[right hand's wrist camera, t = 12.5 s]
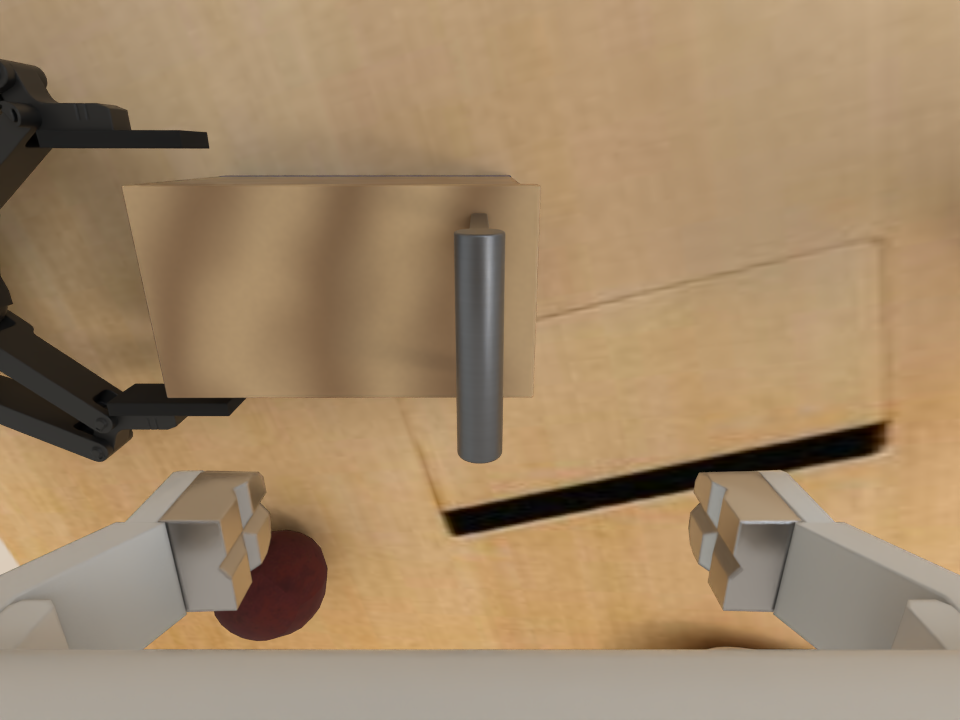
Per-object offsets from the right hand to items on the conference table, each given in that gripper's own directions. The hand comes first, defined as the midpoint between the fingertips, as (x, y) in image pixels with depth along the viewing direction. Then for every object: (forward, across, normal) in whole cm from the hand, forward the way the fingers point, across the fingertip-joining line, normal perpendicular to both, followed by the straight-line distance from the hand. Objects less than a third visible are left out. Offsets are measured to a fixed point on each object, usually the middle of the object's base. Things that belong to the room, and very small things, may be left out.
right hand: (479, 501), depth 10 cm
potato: (+26, +14, +22) cm, 37 cm away
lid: (+17, +6, 0) cm, 18 cm away
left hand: (+20, +14, 0) cm, 24 cm away
